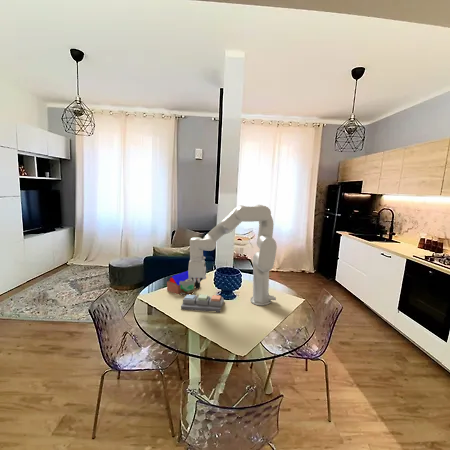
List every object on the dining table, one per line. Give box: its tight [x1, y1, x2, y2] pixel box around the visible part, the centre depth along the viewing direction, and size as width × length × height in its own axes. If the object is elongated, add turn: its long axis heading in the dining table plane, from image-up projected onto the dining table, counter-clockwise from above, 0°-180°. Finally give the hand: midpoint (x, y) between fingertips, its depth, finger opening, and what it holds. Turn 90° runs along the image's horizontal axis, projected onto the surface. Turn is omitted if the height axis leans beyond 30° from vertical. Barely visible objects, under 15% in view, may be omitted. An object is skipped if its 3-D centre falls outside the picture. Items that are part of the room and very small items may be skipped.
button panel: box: [180, 294, 225, 313], centre depth 152 cm, size 23×14×4 cm, turn 81°
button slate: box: [184, 294, 196, 300], centre depth 154 cm, size 5×5×2 cm
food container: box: [179, 279, 195, 296], centre depth 169 cm, size 12×6×10 cm, turn 143°
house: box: [166, 270, 198, 295], centre depth 178 cm, size 12×20×12 cm, turn 142°
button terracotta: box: [210, 294, 222, 302], centre depth 151 cm, size 5×5×2 cm
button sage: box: [197, 293, 209, 301], centre depth 152 cm, size 5×5×2 cm
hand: (197, 288), depth 152 cm, fingers closed
